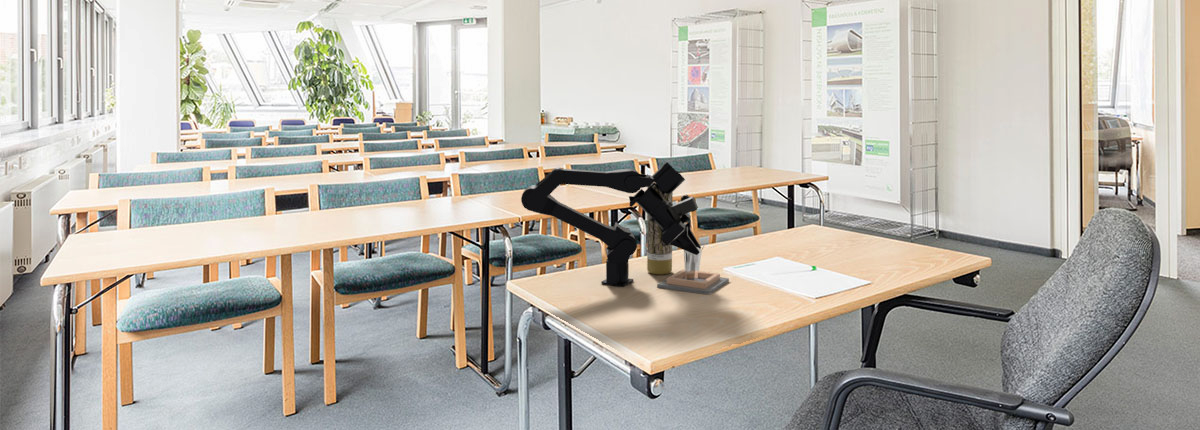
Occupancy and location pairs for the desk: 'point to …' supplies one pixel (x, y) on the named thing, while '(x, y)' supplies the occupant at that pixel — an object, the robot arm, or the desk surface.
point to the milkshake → (692, 265)
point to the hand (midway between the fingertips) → (699, 251)
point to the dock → (694, 282)
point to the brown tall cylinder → (658, 245)
